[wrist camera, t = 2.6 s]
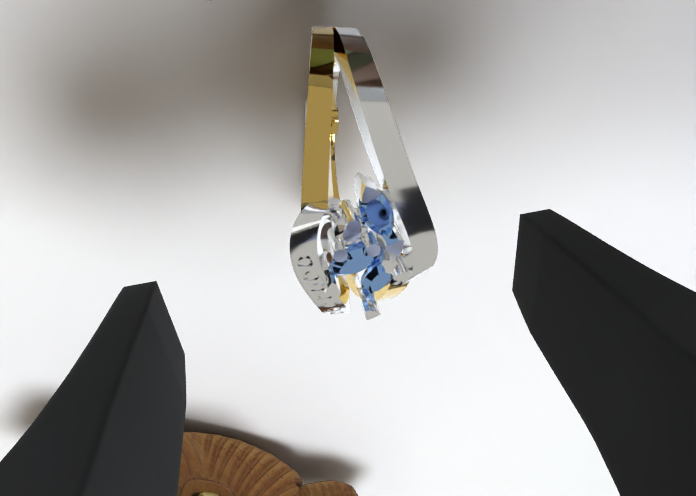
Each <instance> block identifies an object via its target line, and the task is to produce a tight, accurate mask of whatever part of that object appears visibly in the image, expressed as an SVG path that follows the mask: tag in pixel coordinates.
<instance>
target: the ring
mask: <svg viewBox="0 0 696 496" xmlns="http://www.w3.org/2000/svg"><path fill="white" fill-rule="evenodd" d="M340 70H341V74H342V77H343V80H344V84H345V87H346V90H347V94H348V97H349V100H350V103H351V107H352V110H353V113H354V116H355V119H356V122H357V125H358V128H359V131H360V134H361V137H362V139H363V142H364V145H365V148H366V151H367V153H368V156H369V159H370V162H371V164H372V167H373V169H374V172H375V175H376V177H377V180H378V182H379V185H380V187H381V188H380V187H378V186H377V185H376V184H375V183H374V181H373V180H372V178H371V177H369V176H367V175H365V174H363V173H360V172H357V173H356V176H355V179H354V185H353V187H354V189H355V191H356V204H357V207H358V209H357V208H355V207H354V206H353V203H352V202H351V201H350V200H348V199H346V200H343V201H341V200H340V198H339V192H338V186H337V178H336V168H335V151H334V135H337V130H338V108H336V96H337V86H338V78H339V72H340ZM305 125H306V127H305V143H304V160H303V178H302V198H301V213H300V214H299V215H298V217H297V219H296V221H295V223H294V226H293V229H292V232H291V238H290V256H291V262H292V266H293V269H294V272H295V274H296V277H297V279H298V281H299V282H300V284H301V286H302V287H303V289H304V290H305V292H306V293H307V294H308V296H309V297H310V298H311V299H312V301H313V302H314V303H315V304H316V305H317V307H318V308H319V309H320V310H321V311H322V312H323V313H324V314H325V315H327V314H336V313H344V312H350V300H349V287H350V288H351V290H352V291H353V292H354V293H355V294H356V295H357V296H358V297H359V298H360V300H361V304H362V307H363V310H364V313H365V316H366V319H367V320H369V319H372V318H374V317H376V316H378V315H380V314H381V313H380V310H379V308H378V305H377V302H376V301H381V300H386V299H391V298H394V297H396V296H397V295H399V294H400V293H401V292H402V291H403V290H404V289H405V288H406V286H407V285H408V283H409V282H410V281H411V280H413V279H414V278H416V277H418V276H420V275H422V274H423V273H425V272H427V271H428V270H430V269H431V268H432V266H433V265H434V263H435V261H436V258H437V252H438V245H437V238H436V233H435V230H434V226H433V223H432V220H431V217H430V215H429V212H428V209H427V207H426V204H425V202H424V199H423V197H422V194H421V192H420V189H419V186H418V184H417V181H416V179H415V176H414V173H413V170H412V168H411V165H410V162H409V159H408V157H407V154H406V151H405V148H404V145H403V142H402V140H401V137H400V134H399V131H398V128H397V125H396V122H395V119H394V117H393V114H392V111H391V108H390V105H389V102H388V100H387V97H386V94H385V91H384V88H383V85H382V83H381V80H380V77H379V74H378V72H377V69H376V66H375V63H374V61H373V58H372V55H371V53H370V50H369V48H368V46H367V43H366V41H365V39H364V37H363V36H362V34H361V33H360V32H359V31H358V30H357V29H356V28H349V27H312V33H311V45H310V60H309V80H308V98H307V99H306V101H305ZM394 220H395V222H396V225H397V227H398V230H399V232H398V230H397V229H396V227H395V225H394V224H393V223H394ZM399 233H400V234H399ZM402 249H403V254H402V253H401V252H402ZM348 285H349V286H348Z"/></svg>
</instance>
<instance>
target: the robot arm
mask: <svg viewBox="0 0 696 496" xmlns="http://www.w3.org/2000/svg"><path fill="white" fill-rule="evenodd" d="M512 291H513V293H514V296H515V298H516V301H517V303H518V306H519V308H520V310H521V313H522V315H523V317H524V320H525V322H526V324H527V326H528V328H529V331H530V333H531V335H532V336H533V338H534V340H535V341H536V343H537V345H538V347H539V348H540V350H541V352H542V353H543V355H544V357H545V358H546V360H547V362H548V363H549V365H550V367H551V368H552V370H553V371H554V373H555V375H556V376H557V378H558V380H559V381H560V383H561V385H562V386H563V388H564V390H565V391H566V393H567V394H568V396H569V398H570V399H571V401H572V403H573V404H574V406H575V408H576V409H577V411H578V413H579V414H580V416H581V418H582V419H583V421H584V422H585V424H586V426H587V428H588V430H589V432H590V433H591V435H592V437H593V439H594V441H595V443H596V445H597V447H598V449H599V451H600V453H601V455H602V457H603V459H604V461H605V464H606V466H607V468H608V470H609V472H610V474H611V476H612V478H613V480H614V483H615V485H616V487H617V489H618V491H619V494H620V496H696V292H694V291H692V290H690V289H688V288H686V287H684V286H682V285H680V284H678V283H676V282H675V281H673V280H671V279H669V278H667V277H665V276H663V275H661V274H659V273H658V272H656V271H654V270H652V269H650V268H648V267H647V266H645V265H643V264H641V263H640V262H638V261H636V260H634V259H633V258H631V257H629V256H627V255H626V254H624V253H622V252H621V251H619V250H617V249H616V248H614V247H612V246H611V245H609V244H607V243H606V242H604V241H602V240H601V239H599V238H597V237H596V236H594V235H593V234H591V233H589V232H588V231H586V230H584V229H583V228H581V227H579V226H578V225H576V224H575V223H573V222H571V221H570V220H568V219H566V218H565V217H563V216H561V215H559V214H558V213H556V212H554V211H552V210H550V209H547V210H542V211H536V212H531V213H525V214H520V221H519V231H518V240H517V250H516V260H515V269H514V279H513V288H512ZM185 411H186V374H185V354H184V351H183V349H182V346H181V343H180V341H179V338H178V336H177V333H176V331H175V328H174V325H173V323H172V320H171V318H170V315H169V313H168V310H167V307H166V305H165V302H164V300H163V297H162V294H161V292H160V289H159V287H158V284H157V282H156V281H154V282H149V283H143V284H138V285H132V286H127V287H124V288H123V289H122V290H121V292H120V293H119V295H118V296H117V298H116V300H115V301H114V303H113V304H112V306H111V308H110V309H109V311H108V313H107V314H106V316H105V318H104V319H103V321H102V322H101V324H100V326H99V327H98V329H97V331H96V332H95V334H94V335H93V337H92V339H91V340H90V342H89V343H88V345H87V346H86V348H85V349H84V351H83V352H82V354H81V356H80V357H79V359H78V360H77V362H76V363H75V365H74V366H73V368H72V369H71V371H70V372H69V374H68V375H67V377H66V378H65V380H64V381H63V382H62V384H61V385H60V387H59V388H58V389H57V391H56V392H55V393H54V395H53V396H52V398H51V399H50V400H49V402H48V403H47V404H46V406H45V407H44V408H43V410H42V411H41V413H40V414H39V415H38V417H37V418H36V419H35V421H34V422H33V423H32V424H31V426H30V427H29V428H28V429H27V431H26V432H25V433H24V435H23V436H22V437H21V438H20V439H19V441H18V442H17V443H16V444H15V446H14V447H13V448H12V449H11V450H10V451H9V452H8V454H7V455H6V456H5V457H4V458H3V459H2V461H1V462H0V496H178V485H179V475H180V464H181V454H182V444H183V433H184V422H185Z"/></svg>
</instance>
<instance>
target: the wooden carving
mask: <svg viewBox="0 0 696 496" xmlns="http://www.w3.org/2000/svg"><path fill="white" fill-rule="evenodd" d="M178 496H358V495H357V493H356V491H355V490H354V488H353V487H352V486H350V485H348V484H346V483H343V482H339V481H334V480H331V481H321V482H316V483H310V484H306V485H302V479H301V478H300V476H299V475H298V473H297V472H296V471H294V470H293V469H291V468H290V467H289V466H288V465H287V464H286V463H284V462H283V461H281V460H280V459H278V458H277V457H275V456H274V455H272V454H270V453H268V452H266V451H264V450H261V449H259V448H257V447H255V446H253V445H250V444H247V443H245V442H243V441H241V440H237V439H232V438H228V437H224V436H221V435H215V434H207V433H199V432H184V433H183V444H182V454H181V464H180V475H179V485H178Z"/></svg>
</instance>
